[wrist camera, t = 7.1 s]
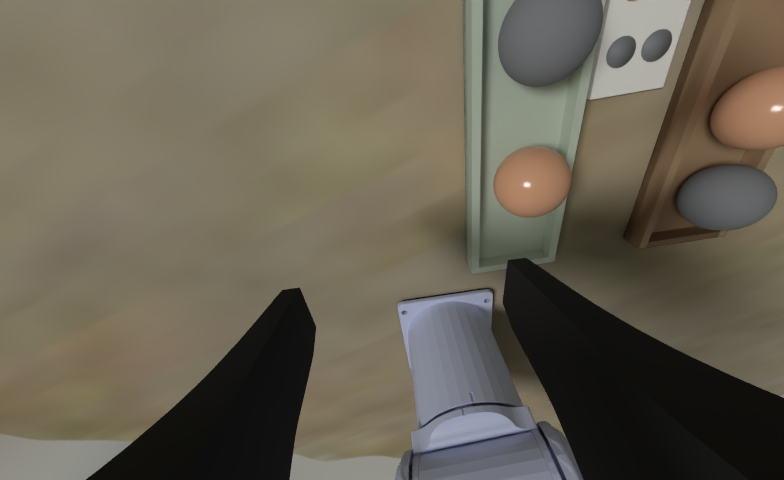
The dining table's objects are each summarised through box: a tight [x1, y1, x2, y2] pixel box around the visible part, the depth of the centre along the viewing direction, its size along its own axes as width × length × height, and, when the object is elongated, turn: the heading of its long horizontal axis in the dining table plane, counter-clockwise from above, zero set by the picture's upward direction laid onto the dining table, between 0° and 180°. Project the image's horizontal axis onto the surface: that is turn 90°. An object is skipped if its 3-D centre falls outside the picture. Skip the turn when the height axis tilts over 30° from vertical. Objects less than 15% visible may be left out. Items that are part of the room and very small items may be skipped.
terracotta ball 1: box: [493, 146, 572, 218], centre depth 16 cm, size 4×4×4 cm
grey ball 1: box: [498, 0, 603, 87], centre depth 12 cm, size 4×4×4 cm
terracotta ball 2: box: [710, 65, 784, 150], centre depth 15 cm, size 4×4×4 cm
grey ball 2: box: [676, 164, 777, 231], centre depth 17 cm, size 4×4×4 cm
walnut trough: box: [624, 0, 784, 249], centre depth 16 cm, size 18×6×2 cm, turn 9°
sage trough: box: [463, 0, 691, 274], centre depth 17 cm, size 18×11×2 cm, turn 9°
